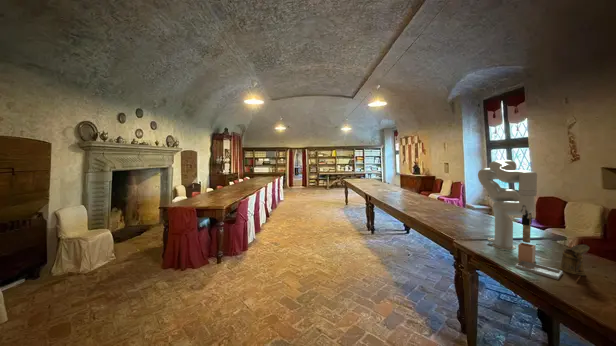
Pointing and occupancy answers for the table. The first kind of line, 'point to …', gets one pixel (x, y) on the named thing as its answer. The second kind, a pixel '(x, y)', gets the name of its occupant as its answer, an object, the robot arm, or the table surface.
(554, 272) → the tray
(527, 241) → the dowel
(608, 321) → the table surface
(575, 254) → the wooden mug
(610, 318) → the table surface
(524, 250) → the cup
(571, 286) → the table surface
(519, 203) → the robot arm
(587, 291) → the table surface
